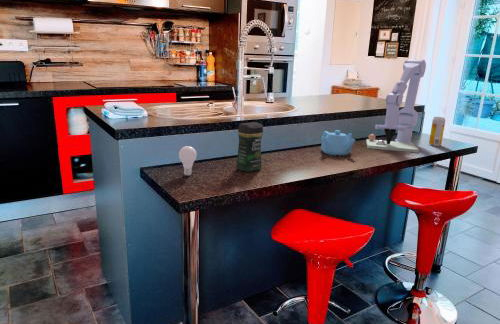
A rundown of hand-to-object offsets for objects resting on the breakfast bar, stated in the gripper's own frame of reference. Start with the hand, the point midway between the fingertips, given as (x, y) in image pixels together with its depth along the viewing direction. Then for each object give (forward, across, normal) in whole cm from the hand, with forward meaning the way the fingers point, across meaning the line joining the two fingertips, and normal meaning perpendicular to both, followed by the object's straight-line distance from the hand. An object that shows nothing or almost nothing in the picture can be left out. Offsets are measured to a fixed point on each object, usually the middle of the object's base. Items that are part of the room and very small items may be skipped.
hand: (388, 143), depth 198 cm
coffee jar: (+2, -57, -64) cm, 86 cm away
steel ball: (0, -3, 0) cm, 3 cm away
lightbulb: (+2, -76, -80) cm, 111 cm away
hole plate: (+2, +2, +2) cm, 3 cm away
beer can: (+2, +26, +17) cm, 31 cm away
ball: (-1, -8, +8) cm, 11 cm away
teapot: (+2, -25, -22) cm, 34 cm away
